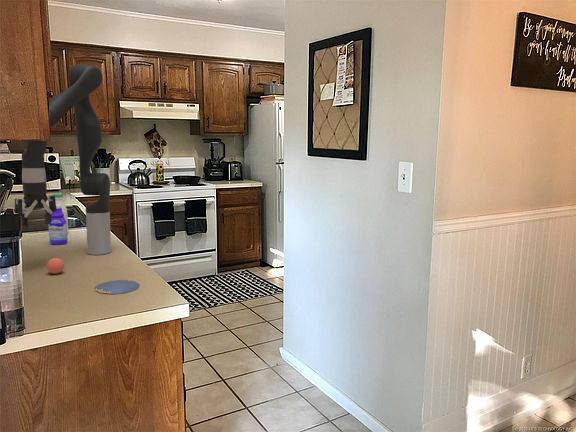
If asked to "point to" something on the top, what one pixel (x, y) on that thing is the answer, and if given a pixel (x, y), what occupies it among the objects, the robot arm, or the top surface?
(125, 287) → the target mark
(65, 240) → the bottle
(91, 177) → the robot arm
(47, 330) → the top surface
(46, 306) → the top surface
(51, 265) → the ball
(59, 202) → the milk bottle
